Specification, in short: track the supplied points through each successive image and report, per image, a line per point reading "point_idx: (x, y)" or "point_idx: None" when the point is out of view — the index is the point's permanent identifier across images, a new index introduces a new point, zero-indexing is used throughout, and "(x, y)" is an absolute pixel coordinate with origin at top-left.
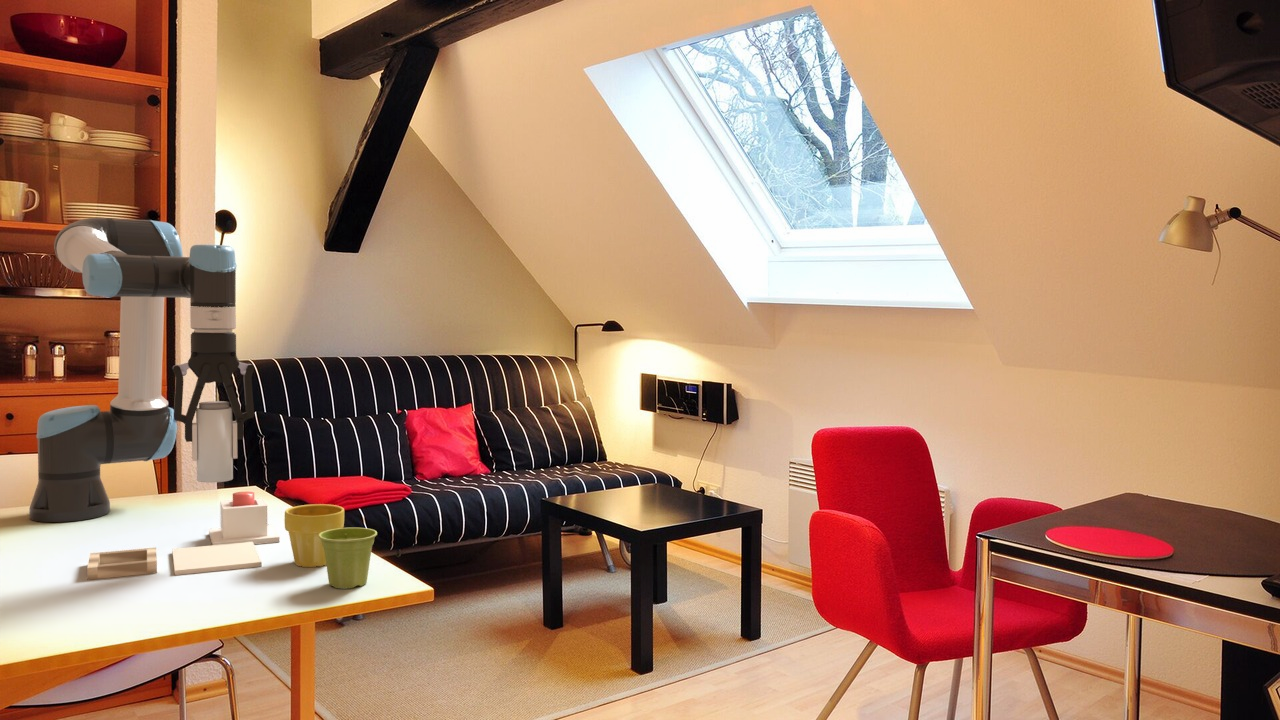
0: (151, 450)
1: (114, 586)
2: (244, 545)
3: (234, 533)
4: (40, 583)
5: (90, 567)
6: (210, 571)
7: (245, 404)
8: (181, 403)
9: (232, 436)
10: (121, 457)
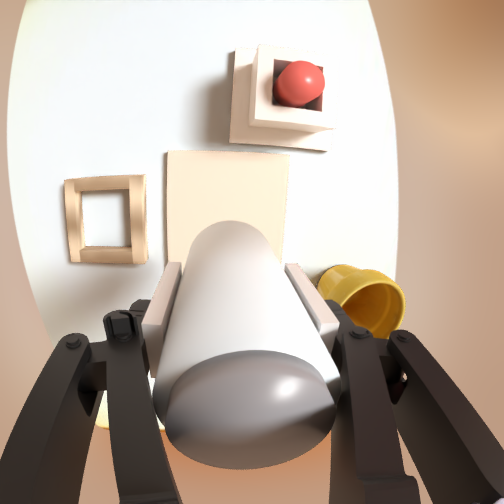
0: None
1: (109, 297)
2: (274, 175)
3: (267, 126)
4: (40, 249)
5: (74, 259)
6: None
7: (408, 376)
8: (87, 440)
9: None
10: None
